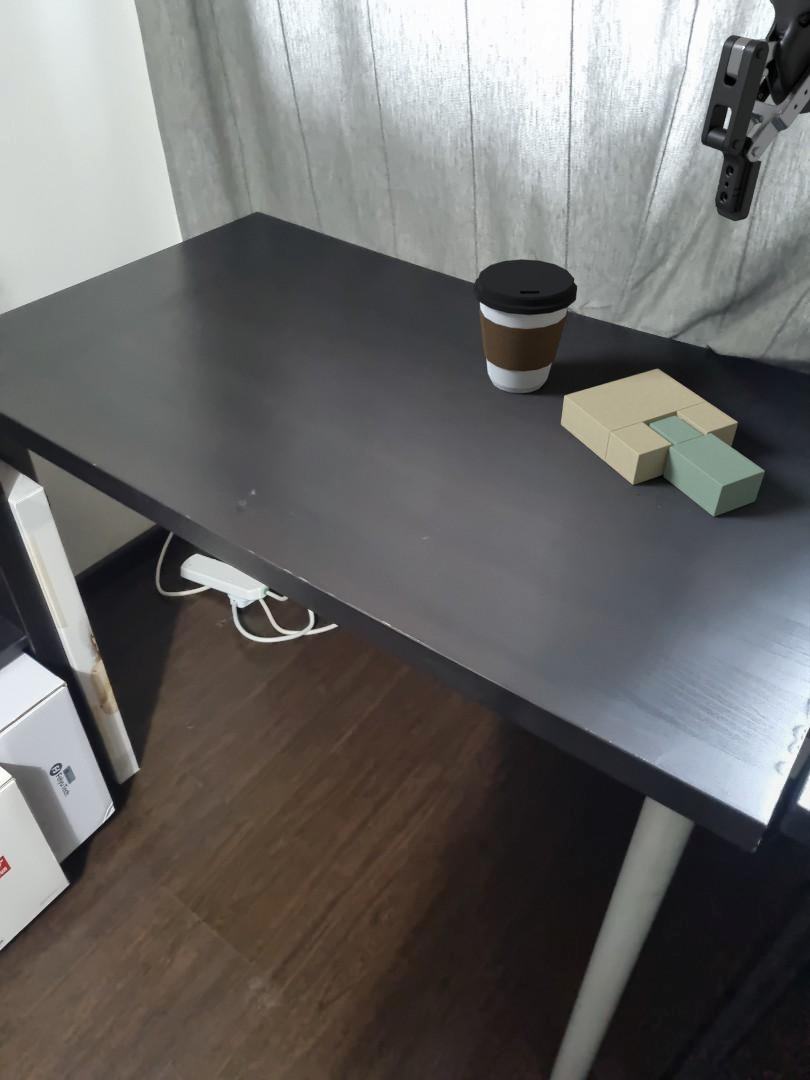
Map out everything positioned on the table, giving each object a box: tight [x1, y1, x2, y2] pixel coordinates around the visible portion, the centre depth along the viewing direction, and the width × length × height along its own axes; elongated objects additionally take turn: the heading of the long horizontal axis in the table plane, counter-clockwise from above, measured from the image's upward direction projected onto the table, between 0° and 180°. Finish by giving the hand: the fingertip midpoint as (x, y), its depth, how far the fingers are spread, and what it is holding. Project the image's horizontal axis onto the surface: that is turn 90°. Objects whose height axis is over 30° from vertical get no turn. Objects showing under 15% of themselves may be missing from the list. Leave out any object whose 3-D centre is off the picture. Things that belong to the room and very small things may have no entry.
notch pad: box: [560, 368, 739, 486], centre depth 83 cm, size 12×12×4 cm
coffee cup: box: [472, 258, 578, 394], centre depth 90 cm, size 11×11×12 cm
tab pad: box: [649, 416, 766, 518], centre depth 78 cm, size 11×5×4 cm, turn 26°
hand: (779, 206), depth 56 cm, fingers open, 8 cm apart
